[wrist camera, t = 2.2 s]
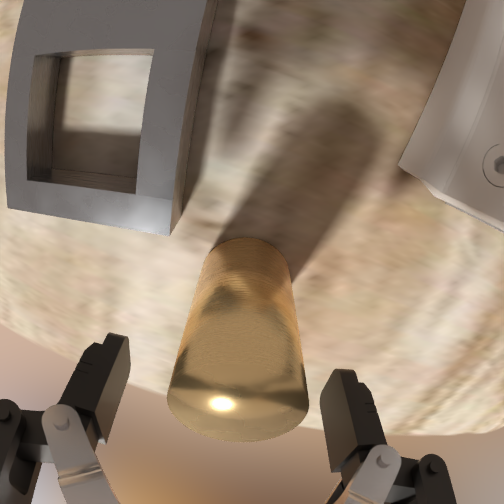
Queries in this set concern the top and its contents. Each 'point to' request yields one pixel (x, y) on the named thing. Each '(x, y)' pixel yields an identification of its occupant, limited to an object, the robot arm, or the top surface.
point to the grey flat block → (154, 118)
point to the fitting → (241, 348)
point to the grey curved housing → (466, 120)
